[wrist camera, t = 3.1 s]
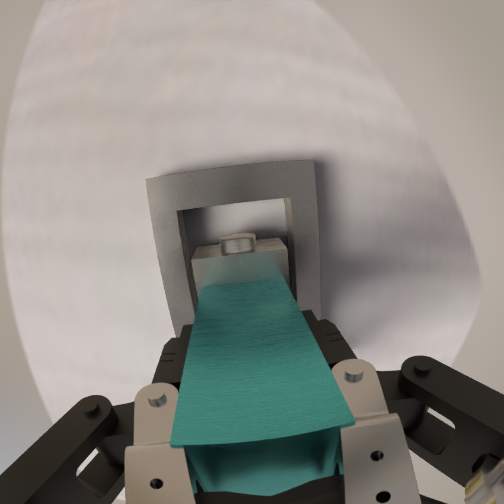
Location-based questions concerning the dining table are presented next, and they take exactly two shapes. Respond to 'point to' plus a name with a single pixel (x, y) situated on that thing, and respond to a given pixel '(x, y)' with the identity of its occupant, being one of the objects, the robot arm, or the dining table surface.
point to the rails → (226, 192)
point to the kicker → (254, 376)
